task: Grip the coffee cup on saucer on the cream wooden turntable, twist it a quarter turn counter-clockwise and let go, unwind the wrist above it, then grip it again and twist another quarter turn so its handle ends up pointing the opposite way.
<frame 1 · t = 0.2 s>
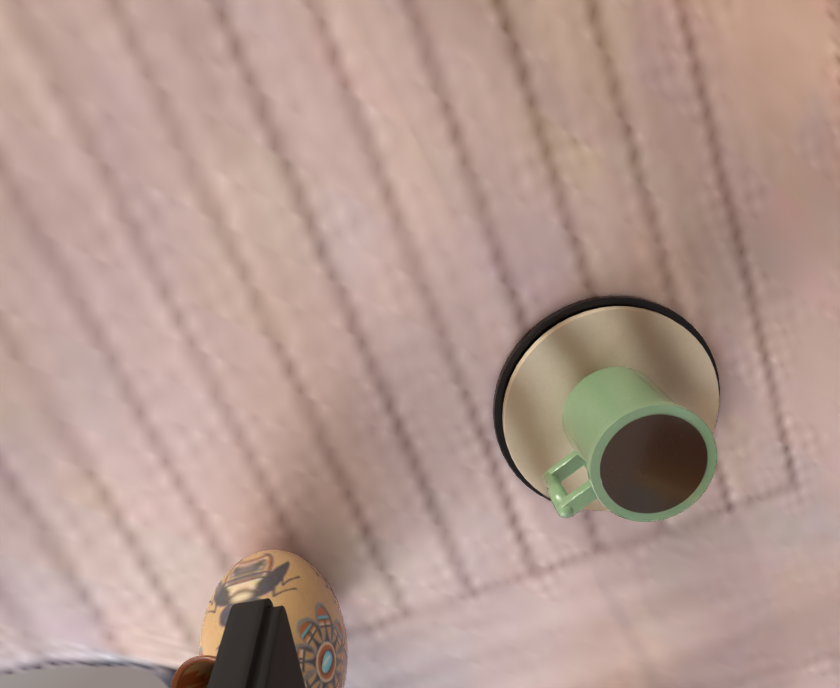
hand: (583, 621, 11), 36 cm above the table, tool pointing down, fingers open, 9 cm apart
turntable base: (605, 405, 50), on the table
coffee cup on saucer: (629, 435, 45), point 5 cm above the table, hinge at 0.0°
ceramic vessel: (287, 585, 53), on the table
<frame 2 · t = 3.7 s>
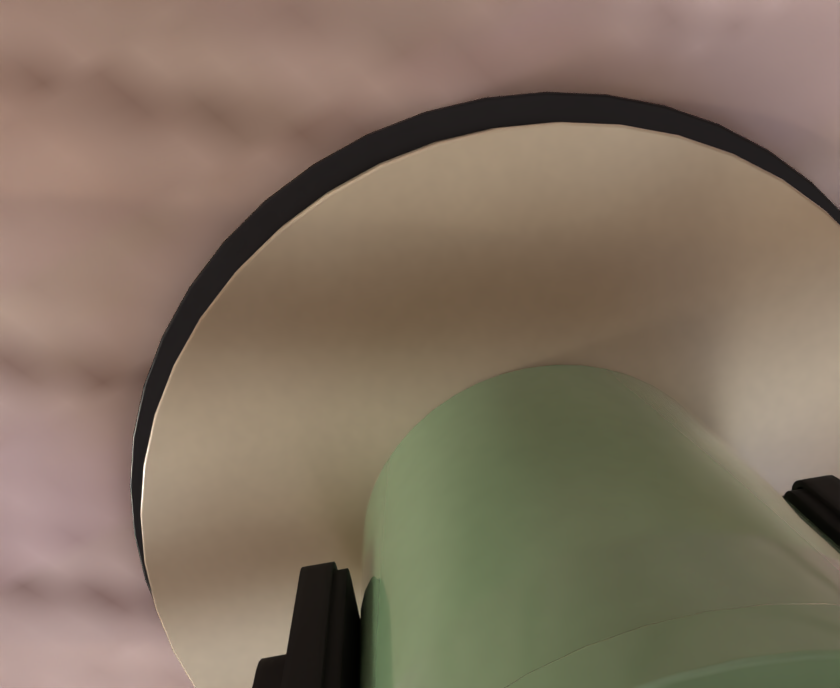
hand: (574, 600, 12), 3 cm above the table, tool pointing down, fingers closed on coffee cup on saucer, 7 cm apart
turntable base: (530, 497, 15), on the table
coffee cup on saucer: (605, 672, 10), point 5 cm above the table, hinge at 0.0°, touching gripper
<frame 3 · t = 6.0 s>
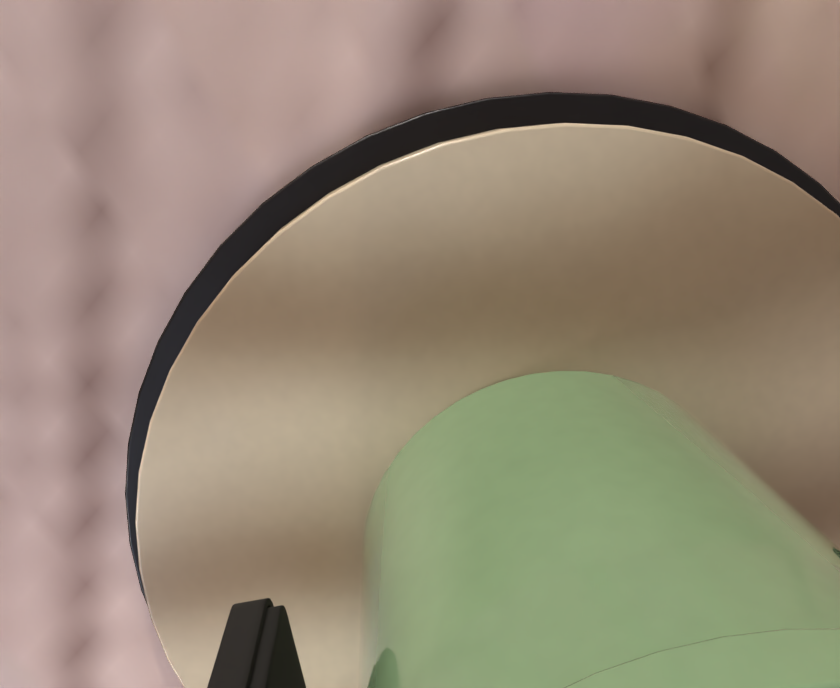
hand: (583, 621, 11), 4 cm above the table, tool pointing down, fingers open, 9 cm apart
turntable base: (533, 504, 15), on the table
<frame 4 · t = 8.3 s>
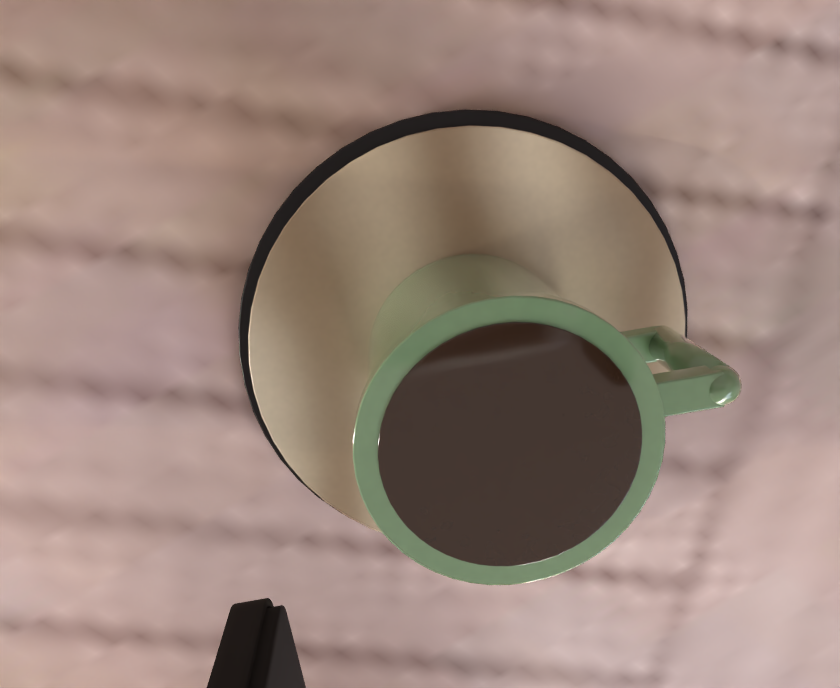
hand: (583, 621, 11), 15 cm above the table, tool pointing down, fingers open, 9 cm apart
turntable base: (464, 341, 26), on the table
coffee cup on saucer: (485, 390, 21), point 5 cm above the table, hinge at 89.8°
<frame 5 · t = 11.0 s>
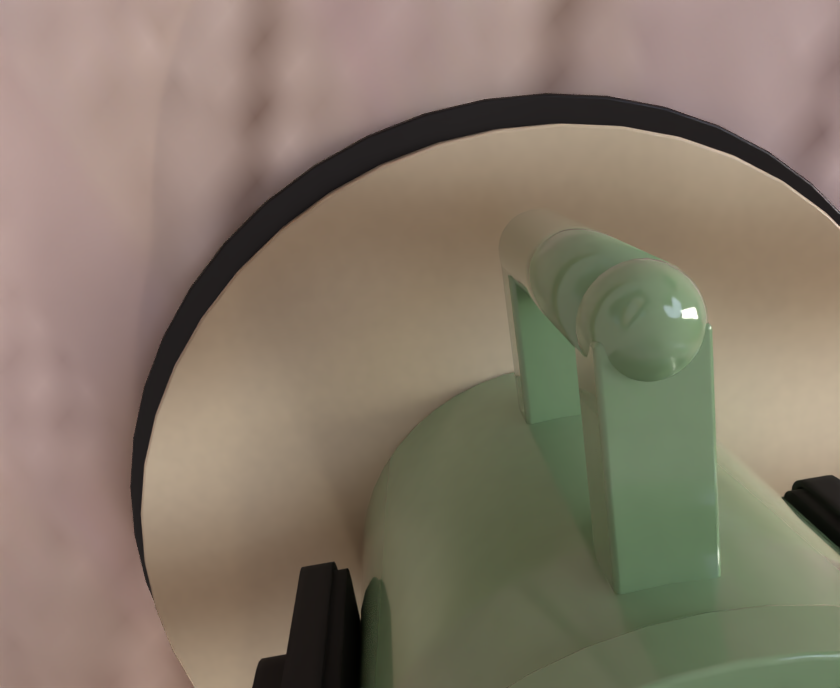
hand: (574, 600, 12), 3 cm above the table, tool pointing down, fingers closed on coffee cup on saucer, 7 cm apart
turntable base: (531, 498, 15), on the table
coffee cup on saucer: (605, 673, 10), point 5 cm above the table, hinge at 89.8°, touching gripper
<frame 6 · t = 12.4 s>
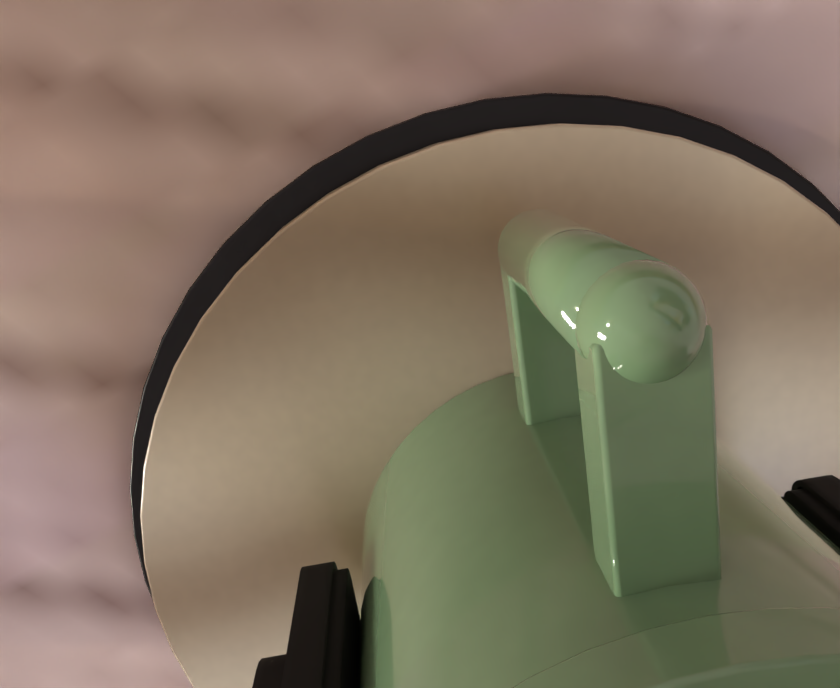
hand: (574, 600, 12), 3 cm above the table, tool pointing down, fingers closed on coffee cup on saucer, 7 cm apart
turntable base: (531, 498, 15), on the table
coffee cup on saucer: (606, 675, 10), point 5 cm above the table, hinge at 179.9°, touching gripper
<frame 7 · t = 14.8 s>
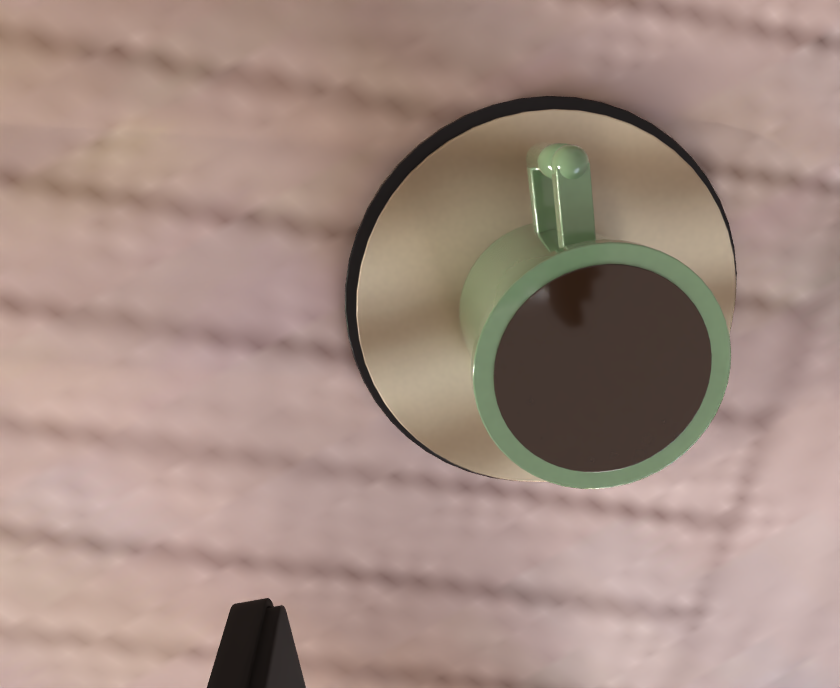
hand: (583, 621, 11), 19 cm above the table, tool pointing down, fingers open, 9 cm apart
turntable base: (539, 300, 29), on the table
coffee cup on saucer: (568, 334, 25), point 5 cm above the table, hinge at 180.0°
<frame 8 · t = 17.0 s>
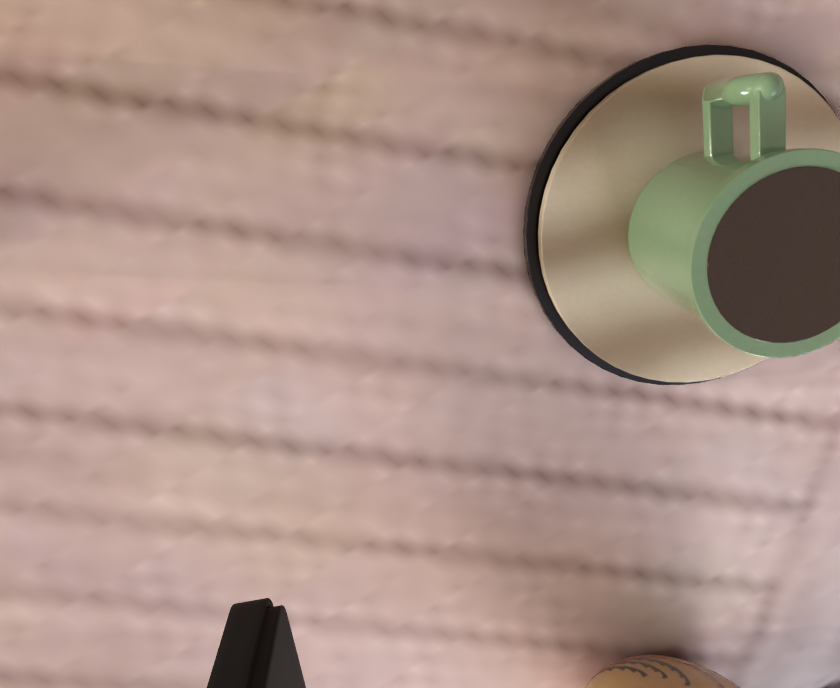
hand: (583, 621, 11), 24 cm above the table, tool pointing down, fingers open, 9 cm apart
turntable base: (687, 225, 34), on the table
coffee cup on saucer: (738, 240, 29), point 5 cm above the table, hinge at 180.0°
ceramic vessel: (643, 679, 42), on the table
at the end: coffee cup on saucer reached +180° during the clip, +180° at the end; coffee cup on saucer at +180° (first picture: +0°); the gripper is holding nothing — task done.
